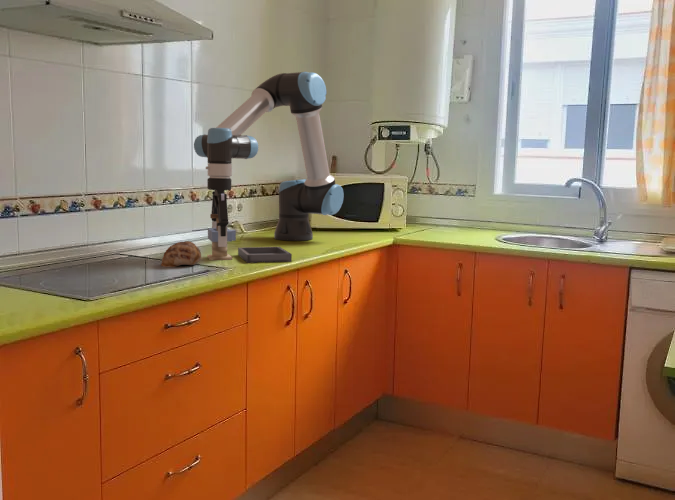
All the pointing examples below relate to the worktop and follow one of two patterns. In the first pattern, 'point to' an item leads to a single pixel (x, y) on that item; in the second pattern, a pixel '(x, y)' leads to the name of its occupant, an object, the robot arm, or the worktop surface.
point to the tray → (264, 254)
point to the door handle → (218, 252)
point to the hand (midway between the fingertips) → (219, 244)
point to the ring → (214, 235)
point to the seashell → (181, 254)
